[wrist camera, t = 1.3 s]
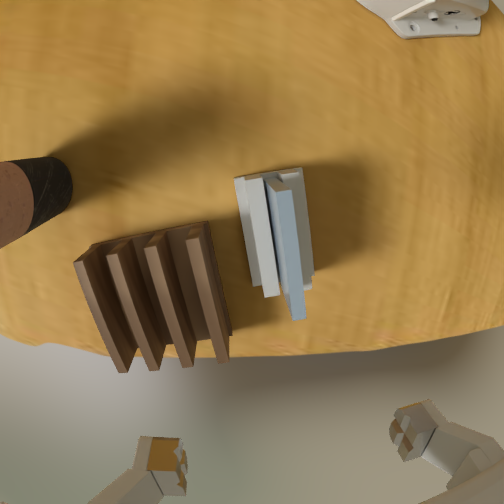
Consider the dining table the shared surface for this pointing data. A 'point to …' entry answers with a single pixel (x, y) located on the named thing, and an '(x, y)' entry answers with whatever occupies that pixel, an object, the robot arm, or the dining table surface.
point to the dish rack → (156, 295)
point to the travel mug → (31, 195)
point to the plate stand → (260, 229)
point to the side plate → (286, 245)
